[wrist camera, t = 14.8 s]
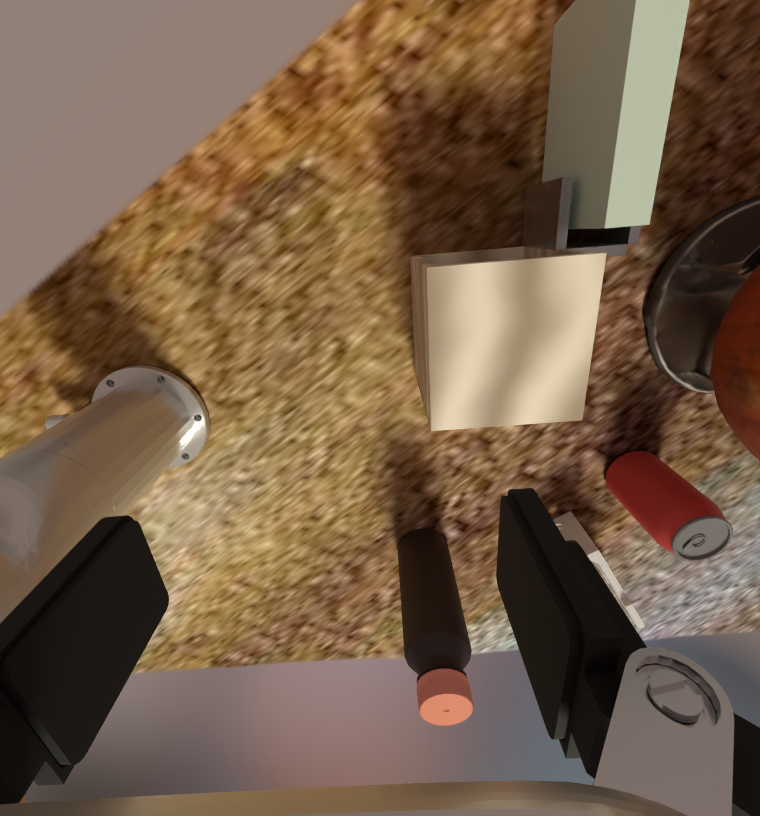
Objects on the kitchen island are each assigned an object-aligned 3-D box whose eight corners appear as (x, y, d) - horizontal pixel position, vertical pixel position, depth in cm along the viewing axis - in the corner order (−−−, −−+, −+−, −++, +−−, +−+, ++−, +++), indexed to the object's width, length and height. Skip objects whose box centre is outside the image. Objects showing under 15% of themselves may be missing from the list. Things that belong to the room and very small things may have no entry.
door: (553, 25, 32) (647, -85, 21) (606, 19, 32) (729, -94, 21) (538, 229, 38) (604, 228, 27) (582, 225, 38) (667, 222, 27)
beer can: (592, 472, 49) (654, 542, 38) (638, 438, 47) (718, 500, 36) (622, 502, 51) (689, 576, 40) (667, 470, 49) (752, 538, 38)
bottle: (394, 530, 52) (404, 690, 34) (446, 524, 52) (483, 683, 34) (400, 568, 55) (412, 735, 37) (449, 563, 55) (485, 729, 36)
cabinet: (415, 372, 43) (430, 430, 31) (410, 255, 39) (426, 267, 26) (521, 364, 43) (582, 420, 30) (529, 246, 38) (606, 252, 25)
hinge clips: (520, 255, 39) (554, 261, 31) (525, 188, 36) (562, 176, 29) (599, 249, 38) (651, 253, 31) (608, 180, 36) (667, 167, 29)
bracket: (537, 521, 53) (565, 572, 44) (567, 506, 52) (603, 556, 43) (574, 580, 56) (608, 641, 46) (603, 566, 55) (645, 626, 45)
